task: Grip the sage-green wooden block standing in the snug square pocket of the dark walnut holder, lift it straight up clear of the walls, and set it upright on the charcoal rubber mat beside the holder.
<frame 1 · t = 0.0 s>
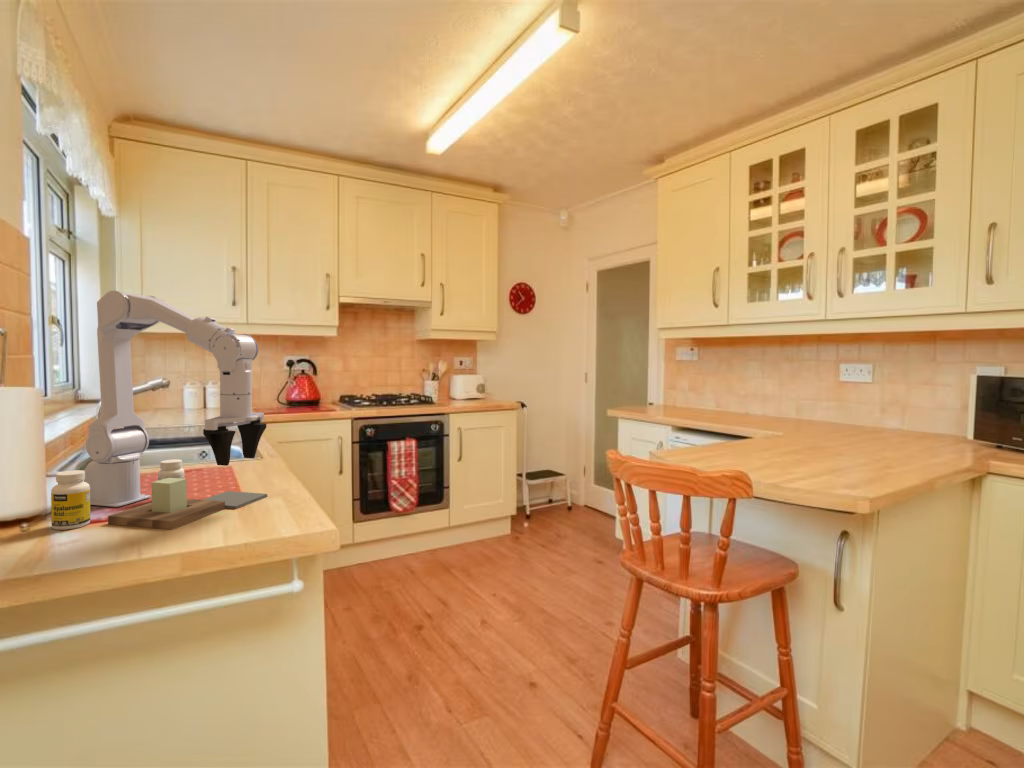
hand: (236, 461, 105), 10 cm above the countertop, fingers open, 7 cm apart
pill bottle: (171, 500, 112), on the countertop
charcoal mat: (231, 500, 112), on the countertop
sage block: (169, 516, 101), resting in walnut holder
supplement bottle: (71, 526, 94), on the countertop
walnut holder: (169, 515, 101), on the countertop
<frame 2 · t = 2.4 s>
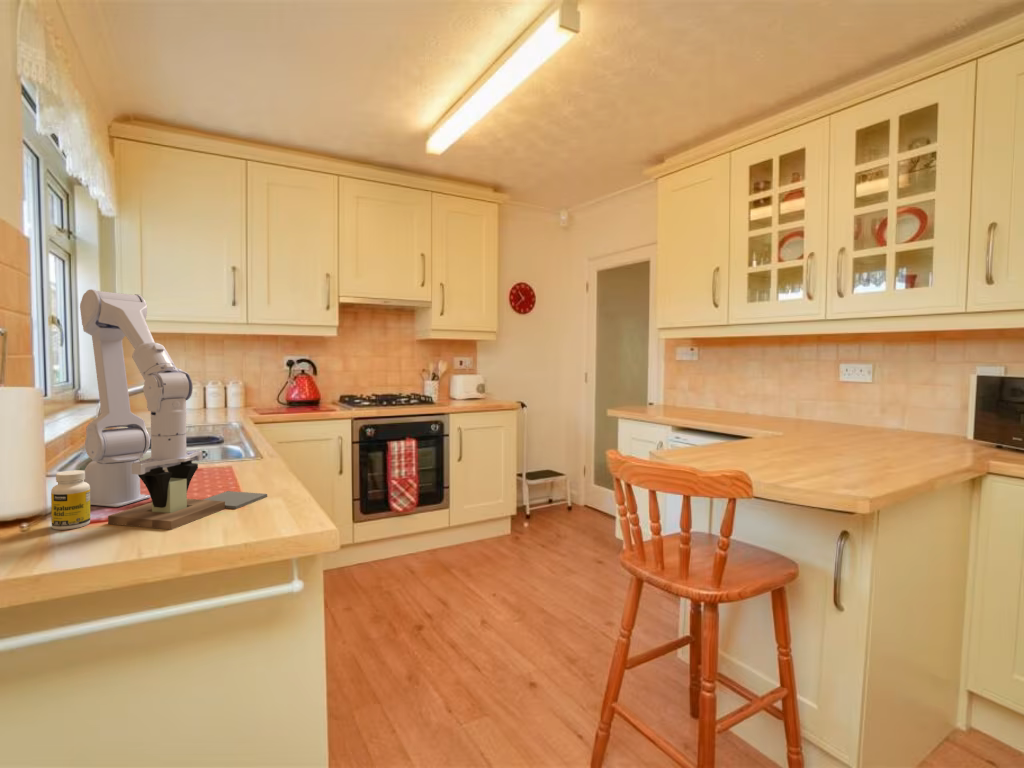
hand: (169, 503, 101), 2 cm above the countertop, fingers closed on sage block, 4 cm apart
sage block: (169, 516, 101), resting in walnut holder, touching gripper
everything else where it was.
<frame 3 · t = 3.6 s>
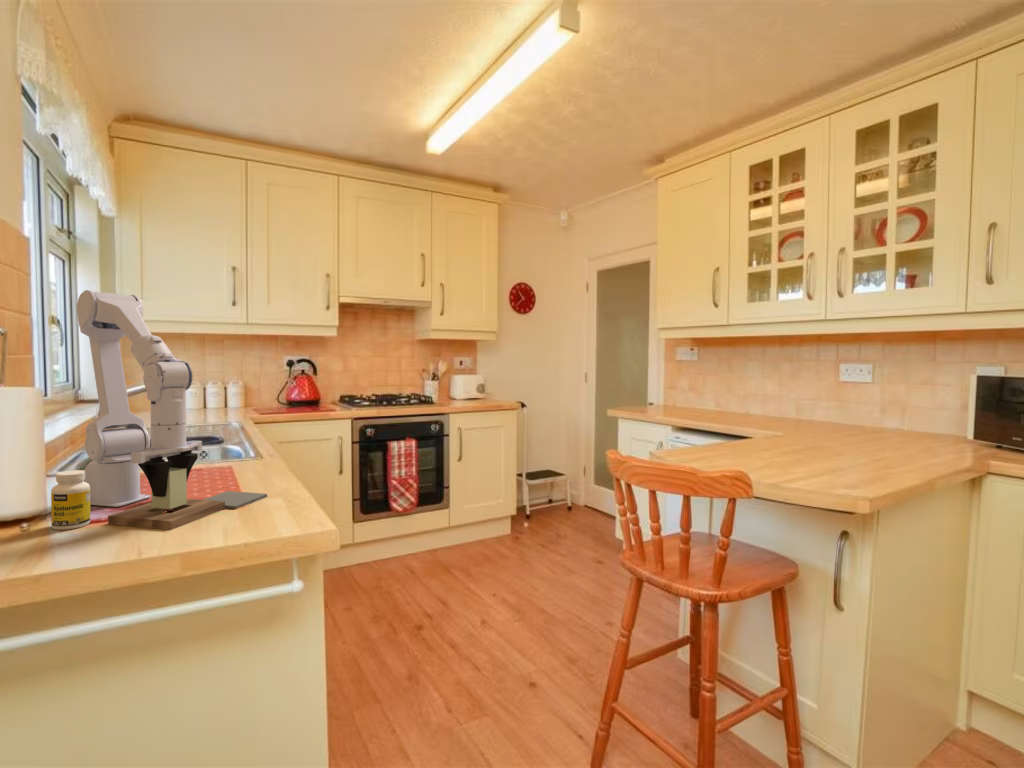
hand: (169, 493, 101), 4 cm above the countertop, fingers closed on sage block, 4 cm apart
sage block: (169, 505, 101), point 2 cm above the countertop, touching gripper
everything else where it was.
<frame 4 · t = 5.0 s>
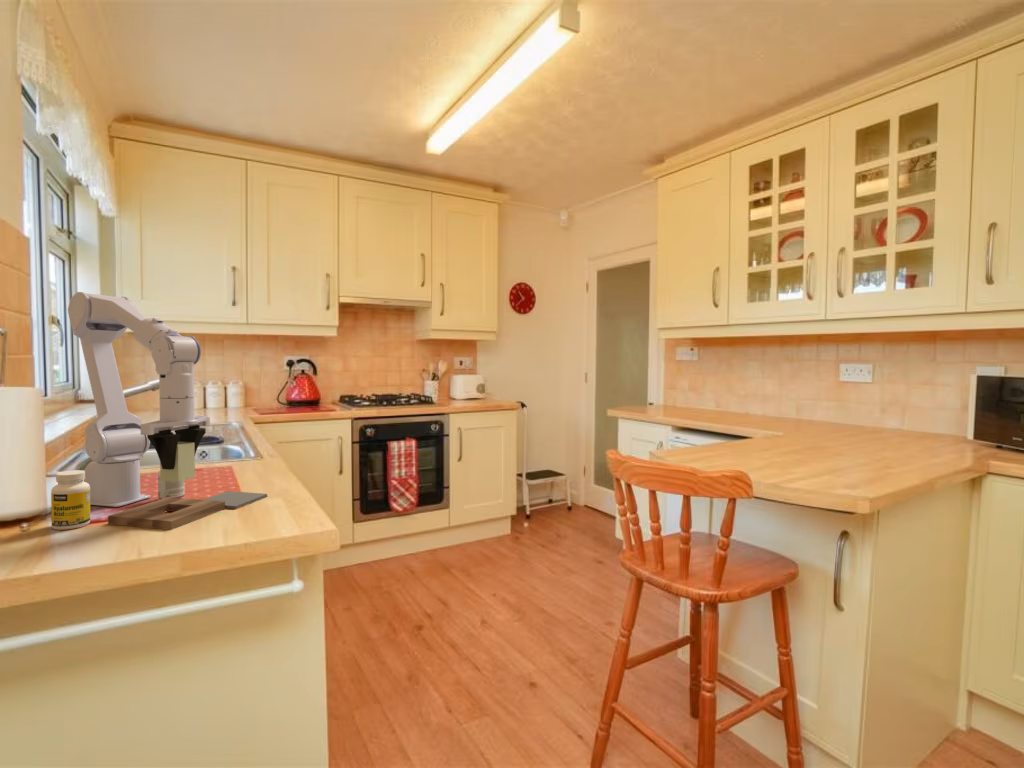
hand: (177, 466, 102), 9 cm above the countertop, fingers closed on sage block, 4 cm apart
sage block: (177, 478, 102), point 7 cm above the countertop, touching gripper
everything else where it was.
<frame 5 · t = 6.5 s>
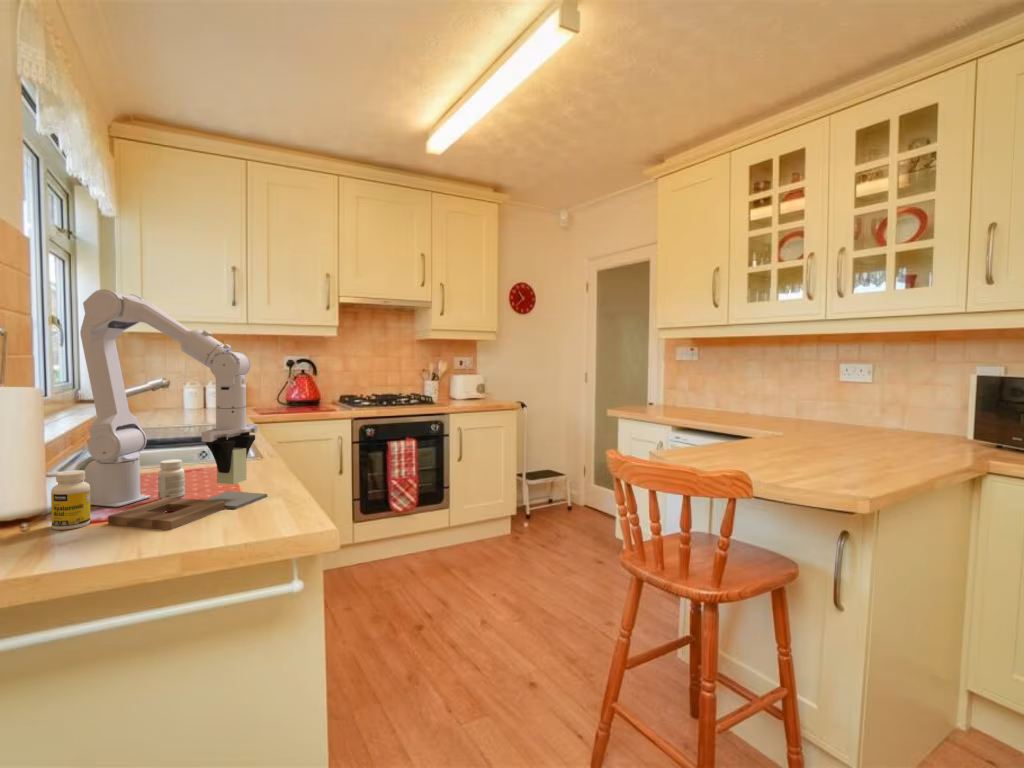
hand: (231, 470, 112), 7 cm above the countertop, fingers closed on sage block, 4 cm apart
sage block: (231, 481, 112), point 4 cm above the countertop, touching gripper
everything else where it was.
when the fingers open (5 cm above the countertop, at t = 7.7 s): sage block drops 1 cm, resting on charcoal mat.
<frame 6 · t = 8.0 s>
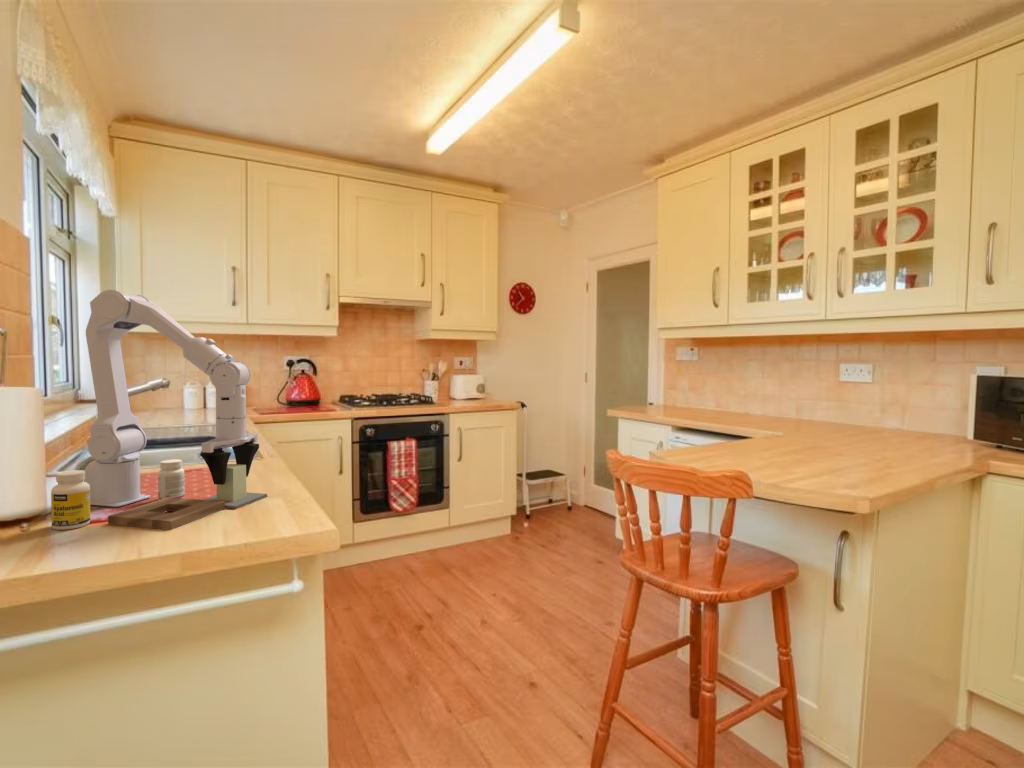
hand: (231, 480, 112), 5 cm above the countertop, fingers open, 7 cm apart
sage block: (231, 498, 112), point 1 cm above the countertop, touching charcoal mat
everything else where it was.
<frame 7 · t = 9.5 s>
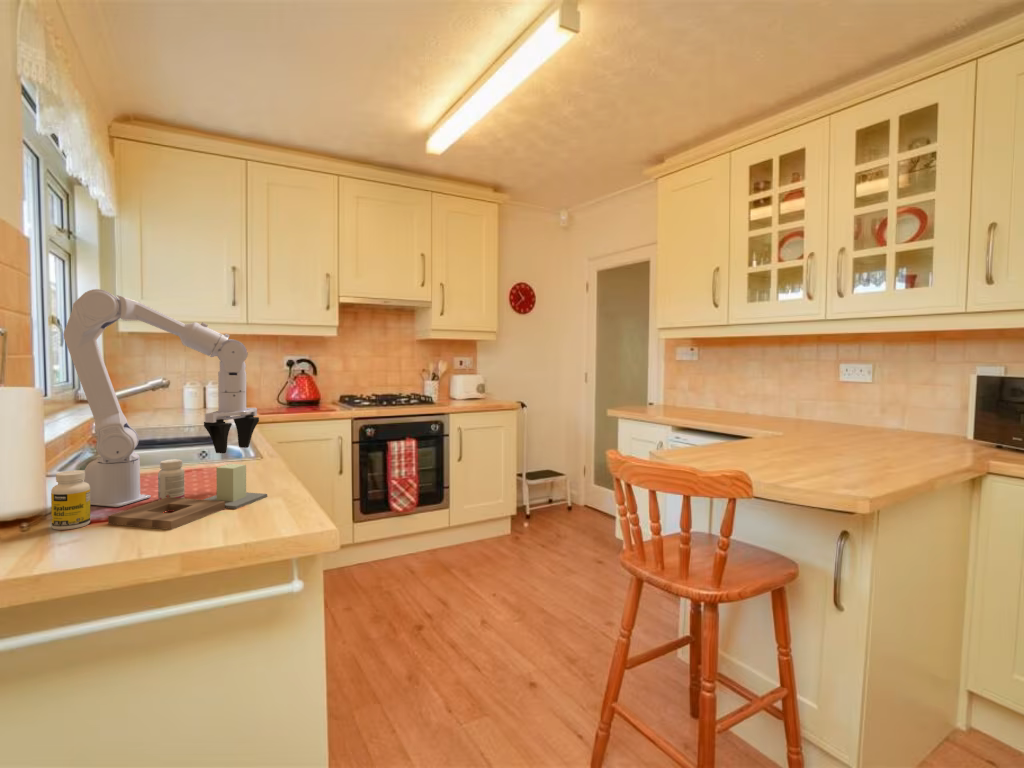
hand: (232, 450, 121), 9 cm above the countertop, fingers open, 7 cm apart
nothing on the countertop moved.
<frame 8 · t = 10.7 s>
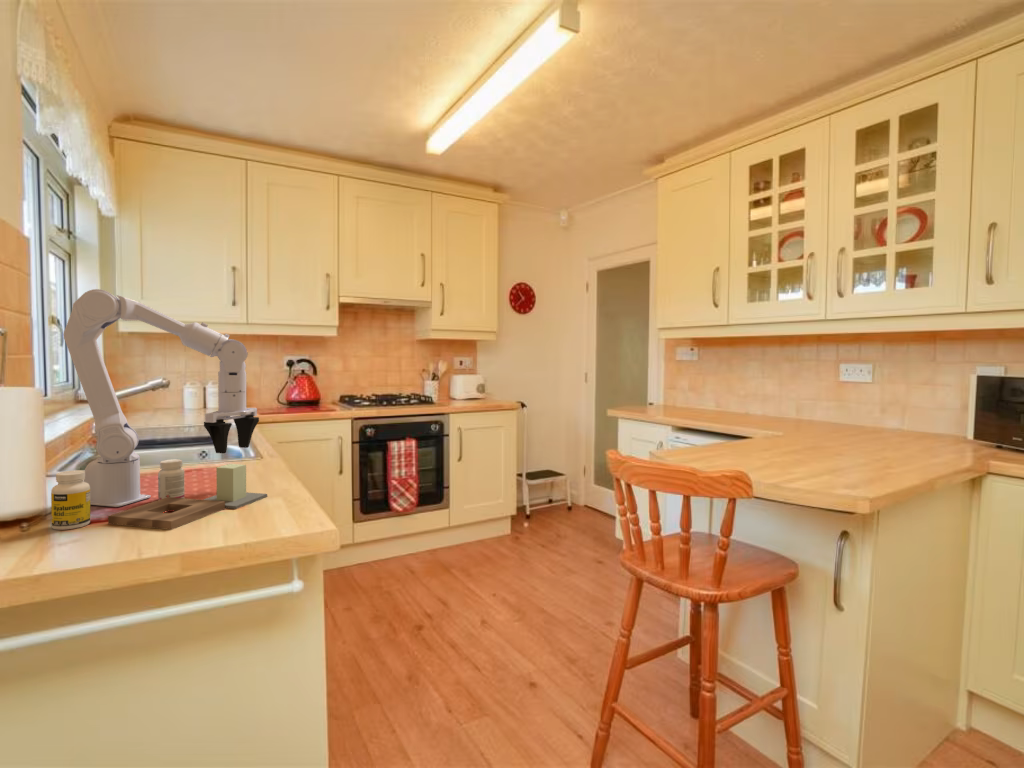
hand: (232, 450, 121), 9 cm above the countertop, fingers open, 7 cm apart
nothing on the countertop moved.
at the end: sage block 0.0 cm off-centre on the charcoal mat, point 0.6 cm above the charcoal mat's base; sage block tilted 0°; sage block moved 12.6 cm from its start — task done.
